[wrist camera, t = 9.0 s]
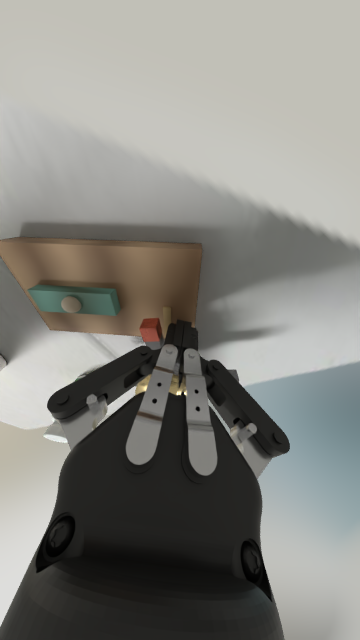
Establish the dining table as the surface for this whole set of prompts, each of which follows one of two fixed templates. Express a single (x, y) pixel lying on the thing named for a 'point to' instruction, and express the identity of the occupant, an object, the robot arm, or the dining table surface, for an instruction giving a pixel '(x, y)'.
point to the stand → (106, 282)
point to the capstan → (155, 341)
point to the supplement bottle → (57, 429)
